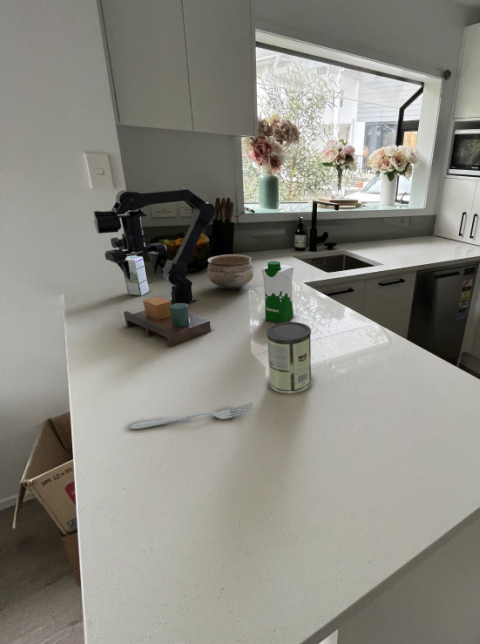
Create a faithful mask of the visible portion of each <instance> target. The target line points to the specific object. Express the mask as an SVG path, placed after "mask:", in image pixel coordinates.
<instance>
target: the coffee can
mask: <svg viewBox="0 0 480 644" xmlns="http://www.w3.org/2000/svg"><path fill="white" fill-rule="evenodd" d="M265 333H266V340H267V355H268V356H267V357H268V372H269V373H268V374H269V386H270V388H271V389H272V390H273V391H275V392H276V393H280V394H289V395H290V394H291V395H292V394H298V393H300V392H303V391H306V390H307V389H308V388H309V387H310V386H311V384H312V355H311V354H312V353H311V347H312V345H311V335H312V329H311V327H310V326H309V325H307V324H305V323H302V322H297V321H286V322H283V323H278V322H277V323H275V324H272V325H270V326H269V327H267V329H266V331H265Z"/></svg>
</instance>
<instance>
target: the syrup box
mask: <svg viewBox="0 0 480 644" xmlns="http://www.w3.org/2000/svg"><path fill="white" fill-rule="evenodd" d="M125 260H127V261H128V263H129V270H130V280H129V279H127V278H126V276H125V274H124V273H123V277H124V281H125V285H126V291H127V295H129V296H144V295H146V294H147V293H149V292H150V289H149V284H148V278H147V274H146V268H145V261H144V258H143V256H137V255H132V256H127V258H126V259H125Z"/></svg>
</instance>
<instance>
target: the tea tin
mask: <svg viewBox="0 0 480 644" xmlns="http://www.w3.org/2000/svg"><path fill="white" fill-rule="evenodd" d="M188 305H189V304H188V303H187V304H186V303H173V304H171V306H170V312H171V319H172V325H173V326H174V327H185V326H188V325H189V324H190V318H189V313H190V311H189V306H188Z"/></svg>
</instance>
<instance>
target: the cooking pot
mask: <svg viewBox="0 0 480 644" xmlns="http://www.w3.org/2000/svg"><path fill="white" fill-rule="evenodd" d="M207 262H208V265H207V269H206V271H207V272H206V275H207V278H208V279H209V281H210V282H211V283H212V284H214V285H216V286H217V287H220V288H223V289H224V290H227V291H235V290H239V289H241V288H242V287H243V286H245V285H247V284H248V283H250V282H251V281H252V279H253V277H254V275H255V269H254V266H253V263H252V257H251V256H248V255H245V254H231V253H230V254H221V255H219V254H218V255H215V256H211V257H209V258H208V259H207Z"/></svg>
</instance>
